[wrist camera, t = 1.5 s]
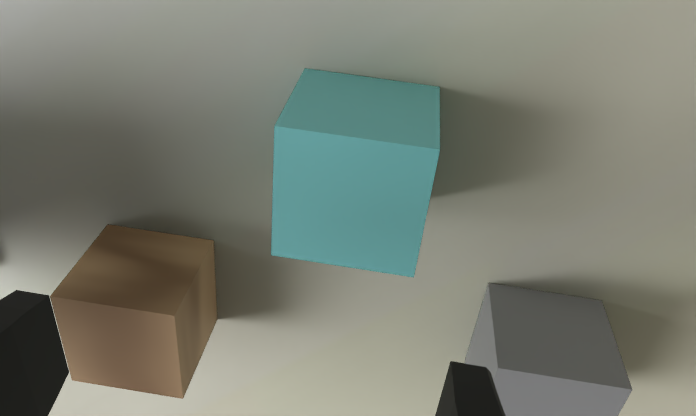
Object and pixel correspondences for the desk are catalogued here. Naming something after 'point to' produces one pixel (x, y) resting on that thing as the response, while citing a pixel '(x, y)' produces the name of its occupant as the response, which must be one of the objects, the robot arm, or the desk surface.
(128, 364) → the walnut block
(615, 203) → the desk surface
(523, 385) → the gray cube
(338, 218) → the teal block
